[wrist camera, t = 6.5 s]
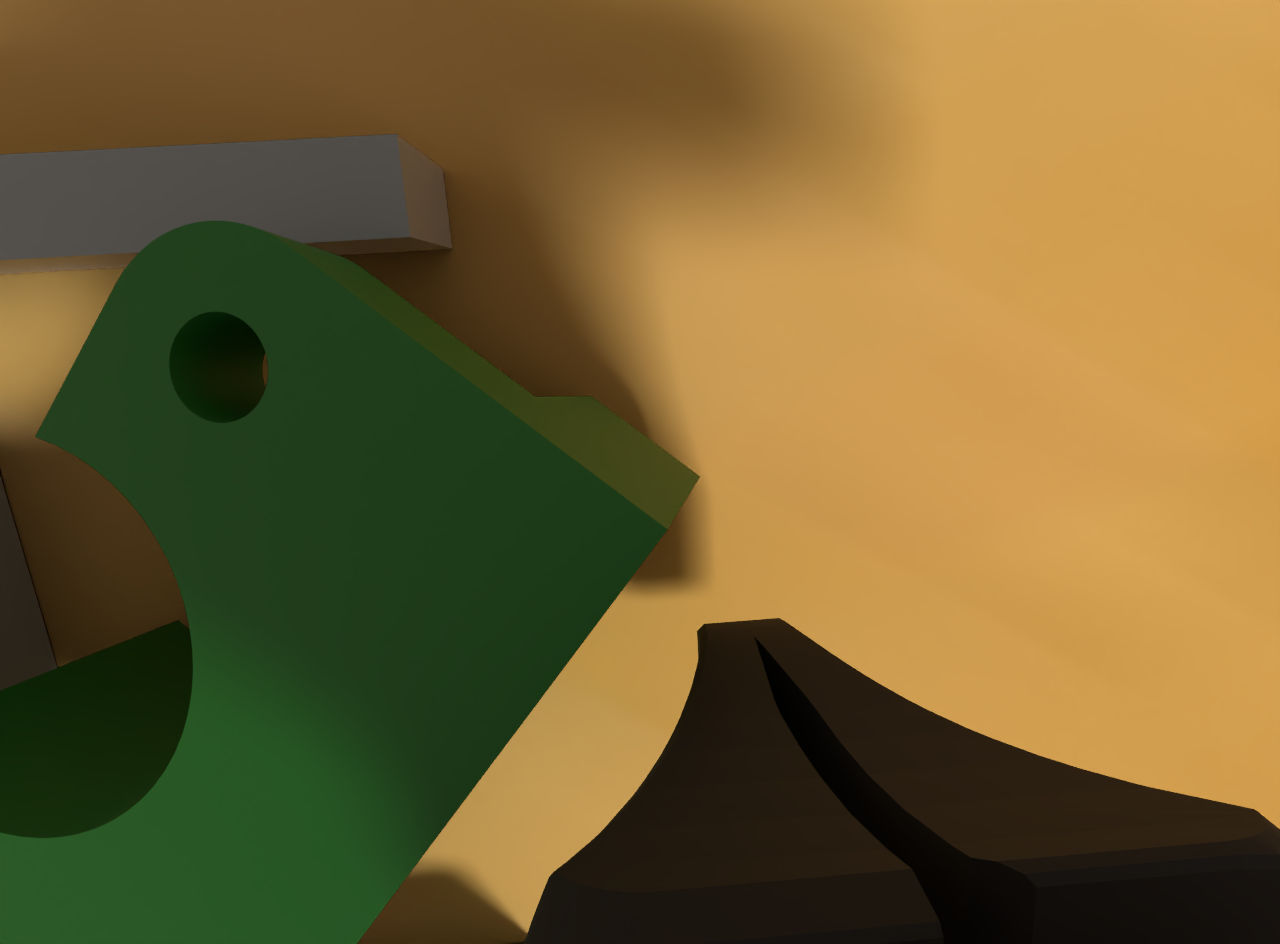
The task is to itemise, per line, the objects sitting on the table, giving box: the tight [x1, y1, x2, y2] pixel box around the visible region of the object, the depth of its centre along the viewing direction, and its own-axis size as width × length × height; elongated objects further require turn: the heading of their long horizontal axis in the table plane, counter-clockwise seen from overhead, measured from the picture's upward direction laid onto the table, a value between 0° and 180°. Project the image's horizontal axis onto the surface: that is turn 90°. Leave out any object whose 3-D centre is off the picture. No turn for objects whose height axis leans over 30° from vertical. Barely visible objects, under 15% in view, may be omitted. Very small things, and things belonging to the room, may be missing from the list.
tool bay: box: [0, 134, 452, 690], centre depth 12 cm, size 9×16×2 cm, turn 3°
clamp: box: [0, 221, 700, 944], centre depth 10 cm, size 12×6×9 cm, turn 138°
